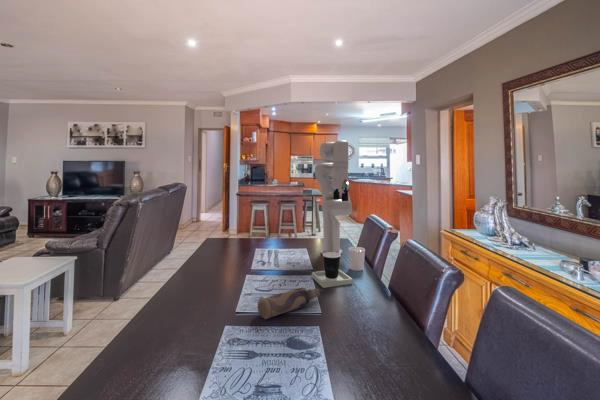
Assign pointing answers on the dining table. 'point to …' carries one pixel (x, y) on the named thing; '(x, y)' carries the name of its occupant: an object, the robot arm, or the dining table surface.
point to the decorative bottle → (286, 302)
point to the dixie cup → (331, 265)
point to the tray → (341, 280)
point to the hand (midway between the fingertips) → (340, 200)
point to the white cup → (356, 258)
